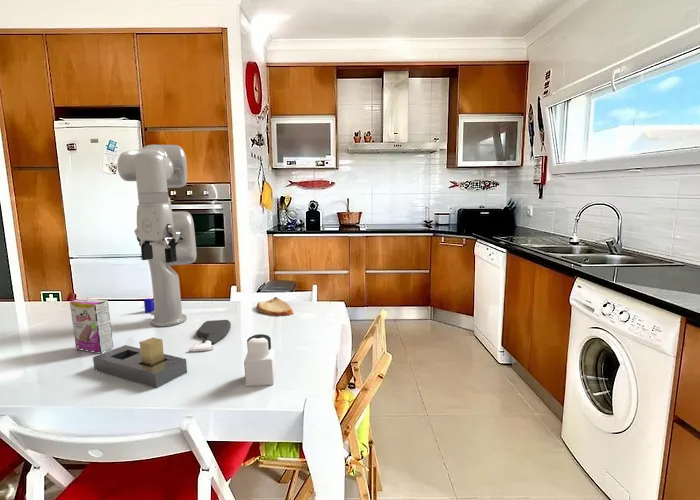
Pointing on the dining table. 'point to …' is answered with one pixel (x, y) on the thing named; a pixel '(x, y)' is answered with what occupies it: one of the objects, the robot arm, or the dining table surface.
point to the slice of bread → (274, 308)
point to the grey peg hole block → (139, 366)
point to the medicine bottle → (259, 361)
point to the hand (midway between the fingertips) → (159, 260)
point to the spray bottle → (211, 334)
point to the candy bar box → (91, 324)
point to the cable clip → (149, 305)
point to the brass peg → (152, 352)
